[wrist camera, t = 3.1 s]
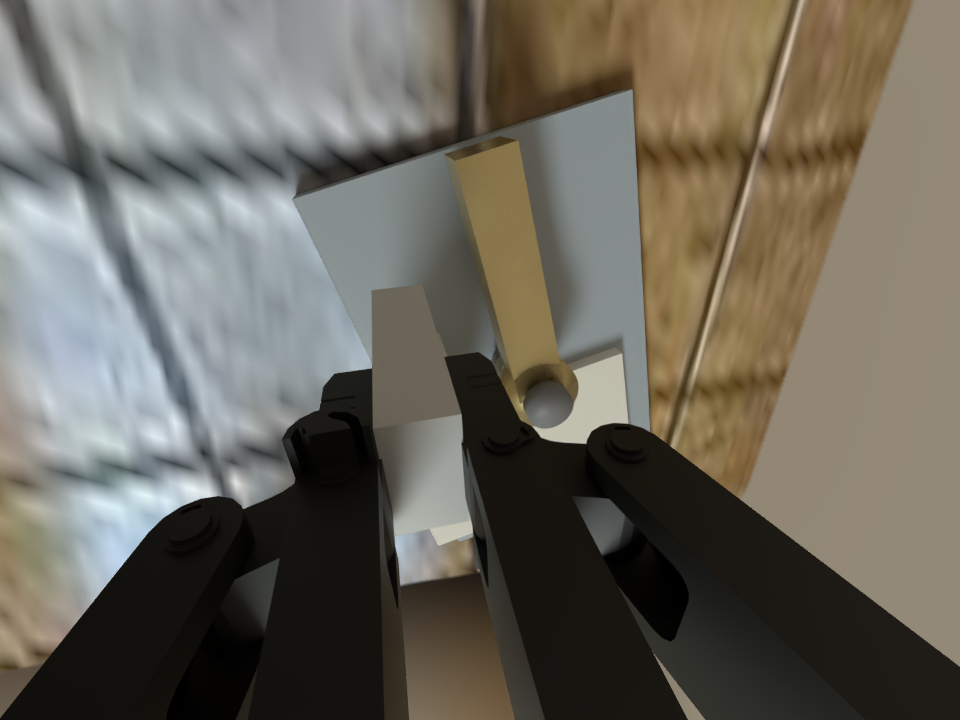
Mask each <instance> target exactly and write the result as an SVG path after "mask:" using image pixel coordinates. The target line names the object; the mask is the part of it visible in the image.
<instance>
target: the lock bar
mask: <svg viewBox="0 0 960 720" xmlns="http://www.w3.org/2000/svg"><path fill="white" fill-rule="evenodd" d="M444 157H445V160H446V164H447V168H448V171H449V175H450V178H451V182H452V185H453V189H454V192H455V196H456V200H457V203H458V207H459V210H460V214H461V217H462V221H463V225H464V228H465V232H466V235H467V239H468V242H469V246H470V250H471V253H472V257H473V260H474V264H475V267H476V271H477V274H478V278H479V282H480V285H481V289H482V292H483V296H484V299H485V303H486V307H487V310H488V314H489V317H490V321H491V324H492V328H493V332H494V335H495V339H496V342H497V346H498V349H499V353H500V356H499V358H498V359H497V361H496V363H495V366H494V367H495V369H496V371H497V375H499V377H500V379H501V382H502V385H503V386H504V388H505V390H506V392H507V394H508V396H509V398H510V400H511V402H512V404H513V406H514V408H515V410H516V412H517V414H518V416H519V418H520V420H521V421H523V422H525V423H527V424H529V425H531V426H534V425H533V424H532V423H531V422H530V420H529V419H528V417H527V415H526V413H525V411H524V408H523V400H524V397H525V395H526V394H527V392H528V391H529V390H530V389H531V388H532V387H533V386H535V385H536V384H538V383H541V382H544V381H557V382H559V383H561V384H562V385H563V386H564V387H565V388H566V390H567V391H568V392H569V394H570V395H571V397H572V399H573V403H574V402H575V400H576V398H577V395H578V388H579V386H578V380H577V377H576V375H575V374H574V372H573V371H572V370H571V369H570V367H569V366H568V365H567V363H566V362H565V361H564V360H563V358H562V357H561V356H560V354H559V353H558V348H557V343H556V338H555V333H554V327H553V322H552V317H551V311H550V306H549V301H548V295H547V290H546V285H545V280H544V274H543V269H542V264H541V258H540V253H539V248H538V243H537V237H536V232H535V227H534V221H533V216H532V211H531V205H530V200H529V195H528V190H527V184H526V179H525V174H524V168H523V163H522V158H521V152H520V147H519V142H518V140H515V139H510V138H506V137H502V136H499V137H495V138H492V139H489V140H486V141H483V142H480V143H477V144H474V145H471V146H468V147H465V148H462V149H458V150H455V151H452V152H449V153H446V154H444Z"/></svg>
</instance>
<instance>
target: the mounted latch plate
mask: <svg viewBox="0 0 960 720" xmlns="http://www.w3.org/2000/svg"><path fill="white" fill-rule="evenodd" d="M499 136H502V137H506V138H510V139H515V140H518V142H519V147H520V152H521V158H522V163H523V168H524V174H525V179H526V184H527V190H528V195H529V200H530V205H531V211H532V216H533V221H534V227H535V232H536V237H537V243H538V248H539V253H540V258H541V264H542V269H543V274H544V280H545V285H546V290H547V295H548V301H549V306H550V311H551V317H552V322H553V327H554V333H555V338H556V343H557V348H558V353H559V354H560V356H561V357H562V358H563V360H564V361H565V362H566V363H567V365H568V366H569V367H570V369H571V370H572V371H573V372H574V374H575V375H576V377H577V380H578V386H579V388H578V395H577V398H576V400H575V402H574V403H573V399H572V397H571V395H570V394H569V392H568V391H567V390H566V388H565V387H564V386H563V385H562V384H561V383H559V382H557V381H544V382H541V383H538V384H536V385H535V386H533V387H532V388H531V389H530V390H529V391H528V392H527V394H526V395H525V397H524V400H523V408H524V411H525V413H526V415H527V417H528V419H529V420H530V422H531V423H532V424H533V425H534V426H532V427H533V428H534V429H535V430H536V431H537V432H538V434H539V435H540V437H541V438H544V439H547V440H550V441H556V442H564V443H581V444H586V443H587V439H588V437H589V435H590V433H591V431H593V430H595V429H596V428H598V427H599V426H601V425H606V424H611V423H625V424H631V425H634V426H638V427H641V428H644V429H646V430H647V431H649V432H650V418H649V398H648V379H647V360H646V341H645V322H644V302H643V283H642V264H641V245H640V225H639V206H638V187H637V168H636V148H635V129H634V110H633V91H632V89H628V90H619V91H616V92H613V93H610V94H607V95H604V96H601V97H598V98H595V99H592V100H589V101H585V102H582V103H579V104H576V105H573V106H570V107H567V108H564V109H561V110H558V111H555V112H551V113H548V114H545V115H542V116H539V117H536V118H533V119H530V120H527V121H524V122H520V123H517V124H514V125H511V126H508V127H505V128H502V129H499V130H496V131H493V132H490V133H486V134H483V135H480V136H477V137H474V138H471V139H468V140H465V141H462V142H459V143H456V144H452V145H449V146H446V147H443V148H440V149H437V150H434V151H431V152H428V153H425V154H421V155H418V156H415V157H412V158H409V159H406V160H403V161H400V162H397V163H394V164H391V165H387V166H384V167H381V168H378V169H375V170H372V171H369V172H366V173H363V174H360V175H357V176H353V177H350V178H347V179H344V180H341V181H338V182H335V183H332V184H329V185H326V186H323V187H319V188H316V189H313V190H310V191H307V192H304V193H301V194H298V195H295V196H294V198H293V199H292V200H293V202H294V204H295V206H296V208H297V210H298V212H299V214H300V216H301V218H302V220H303V222H304V224H305V226H306V228H307V231H308V233H309V235H310V237H311V239H312V241H313V243H314V245H315V247H316V249H317V251H318V253H319V255H320V257H321V259H322V261H323V263H324V265H325V268H326V270H327V272H328V274H329V276H330V278H331V280H332V282H333V284H334V286H335V288H336V290H337V292H338V294H339V296H340V298H341V300H342V302H343V304H344V307H345V309H346V311H347V313H348V315H349V317H350V319H351V321H352V323H353V325H354V327H355V329H356V331H357V333H358V335H359V337H360V339H361V341H362V344H363V346H364V348H365V350H366V352H367V354H368V356H369V358H370V360H371V362H372V290H377V289H386V288H395V287H404V286H414V285H422V286H423V289H424V292H425V296H426V299H427V302H428V305H429V309H430V312H431V315H432V319H433V322H434V325H435V328H436V332H437V335H438V338H439V342H440V345H441V348H442V352H443V355H444V357H447V356H454V355H461V354H468V353H475V352H479V353H481V354H482V355H484V356H485V357H486V358H488V359H489V360H491V361H492V363H493V365H494V366H495V363H496V361H497V359H498V358H499V356H500V353H499V349H498V346H497V342H496V339H495V335H494V332H493V328H492V324H491V321H490V317H489V314H488V310H487V307H486V303H485V299H484V296H483V292H482V289H481V285H480V282H479V278H478V274H477V271H476V267H475V264H474V260H473V257H472V253H471V250H470V246H469V242H468V239H467V235H466V232H465V228H464V225H463V221H462V217H461V214H460V210H459V207H458V203H457V200H456V196H455V192H454V189H453V185H452V182H451V178H450V175H449V171H448V168H447V164H446V160H445V157H444V154H446V153H449V152H452V151H455V150H458V149H462V148H465V147H468V146H471V145H474V144H477V143H480V142H483V141H486V140H489V139H492V138H495V137H499ZM430 531H431V533H432V534H433V536H434V538H435V540H436V542H437V544H438V546H439V545H442V544H445V543H447V542H450V541H453V540H455V539H458V541H459V542H460V541H463V540H466V539H468V538H471V537H473V528H472V523H471V519H470V515H469V521H466V522H461V523H456V524H452V525H447V526H442V527H437V528H432V529H430Z"/></svg>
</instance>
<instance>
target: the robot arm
mask: <svg viewBox="0 0 960 720" xmlns="http://www.w3.org/2000/svg"><path fill="white" fill-rule="evenodd" d="M282 441H283V444H284V447H285V450H286V453H287V456H288V458H289V461H290V464H291V467H292V470H293V473H294V476H295V483H294V484H293V485H292V486H291V487H289V488H288V489H286V490H285V491H283V492H281V493H279V494H277V495H275V496H273V497H271V498H269V499H267V500H264V501H262V502H260V503H257V504H255V505H252V506H250V507H248V508H245V509H242V506H241V505H240V504H238V503H237V502H236V501H235V500H233V499H232V498H226V497H220V496H217V497H210V498H203V499H199V500H197V501H194V502H192V503H189V504H187V505H184V506H182V507H180V508H178V509H177V510H175V511H174V512H172V513H171V514H169V515H167V516H166V517H164V518H163V519H162V520H161V521H160V522H159V523H158V524H157V525H156V526H155V527H154V528H153V529H152V530H151V531H150V532H149V533H148V534H147V535H146V537H145V538H144V539H143V540H142V542H141V543H140V544H139V545H138V547H137V548H136V549H135V550H134V552H133V553H132V554H131V555H130V557H129V558H128V559H127V560H126V562H125V563H124V564H123V565H122V567H121V568H120V569H119V570H118V572H117V573H116V574H115V575H114V577H113V578H112V579H111V580H110V582H109V583H108V584H107V585H106V587H105V588H104V589H103V590H102V592H101V593H100V594H99V595H98V597H97V598H96V599H95V600H94V602H93V603H92V604H91V605H90V607H89V608H88V609H87V610H86V612H85V613H84V614H83V615H82V617H81V618H80V619H79V620H78V622H77V623H76V624H75V625H74V627H73V628H72V629H71V630H70V632H69V633H68V634H67V635H66V637H65V638H64V639H63V640H62V642H61V643H60V644H59V645H58V647H57V648H56V649H55V650H54V652H53V653H52V654H51V655H50V657H49V658H48V659H47V660H46V662H45V663H44V664H43V665H42V667H41V668H40V669H39V671H38V672H37V673H36V674H35V675H34V677H33V678H32V679H31V680H30V682H29V683H28V684H27V685H26V687H25V688H24V689H23V690H22V692H21V693H20V694H19V695H18V697H17V698H16V699H15V700H14V702H13V703H12V704H11V705H10V707H9V708H8V709H7V710H6V712H5V713H4V714H3V715H2V717H1V718H0V720H409V714H408V713H409V712H408V697H407V683H406V668H405V654H404V653H405V652H404V638H403V623H402V608H401V593H400V578H399V563H398V557H397V552H396V548H395V540H394V533H395V536H399V535H404V534H408V533H413V532H418V531H423V530H428V529H432V528H437V527H442V526H447V525H452V524H456V523H461V522H466V521H469V515H470V519H471V523H472V528H473V542H474V557H475V569H480V574H481V578H482V582H483V586H484V590H485V595H486V599H487V603H488V607H489V612H490V616H491V620H492V624H493V628H494V632H495V637H496V641H497V645H498V649H499V654H500V658H501V662H502V667H503V671H504V675H505V679H506V683H507V687H508V692H509V696H510V700H511V704H512V709H513V713H514V717H515V720H688V719H687V717H686V716H685V714H684V712H683V710H682V708H681V706H680V704H679V702H678V700H677V698H676V696H675V694H674V692H673V690H672V689H671V687H670V685H669V683H668V681H667V679H666V677H665V675H664V673H663V671H662V669H661V667H660V665H659V664H658V662H657V660H656V658H655V656H654V654H655V655H656V656H657V658H658V659H659V660H660V662H661V663H662V664H663V666H664V667H665V668H666V669H667V671H668V672H669V673H670V674H671V676H672V677H673V678H674V680H675V681H676V682H677V684H678V685H679V686H680V687H681V689H682V690H683V691H684V693H685V694H686V695H687V696H688V698H689V699H690V700H691V701H692V703H693V704H694V705H695V707H696V708H697V709H698V710H699V712H700V713H701V714H702V716H703V717H704V718H705V719H706V720H960V667H959V666H958V665H957V664H955V663H954V662H953V661H951V660H950V659H949V658H948V657H946V656H945V655H943V654H942V653H941V652H940V651H938V650H937V649H935V648H934V647H933V646H932V645H930V644H929V643H928V642H927V641H925V640H924V639H923V638H921V637H920V636H918V635H917V634H916V633H915V632H913V631H912V630H910V629H909V628H908V627H907V626H905V625H904V624H903V623H902V622H900V621H899V620H898V619H896V618H895V617H894V616H892V615H891V614H889V613H888V612H887V611H886V610H884V609H883V608H882V607H881V606H879V605H878V604H876V603H875V602H874V601H873V600H871V599H870V598H869V597H867V596H866V595H865V594H863V593H862V592H861V591H859V590H858V589H857V588H856V587H854V586H853V585H852V584H850V583H849V582H848V581H846V580H845V579H844V578H842V577H841V576H840V575H839V574H837V573H836V572H835V571H833V570H832V569H831V568H829V567H828V566H827V565H825V564H824V563H823V562H821V561H820V560H819V559H817V558H816V557H815V556H813V555H812V554H811V553H810V552H808V551H807V550H806V549H804V548H803V547H802V546H800V545H799V544H798V543H796V542H795V541H794V540H793V539H791V538H790V537H789V536H787V535H786V534H785V533H783V532H782V531H780V530H779V529H778V528H777V527H775V526H774V525H773V524H772V523H770V522H769V521H767V520H766V519H765V518H764V517H762V516H761V515H760V514H758V513H757V512H756V511H754V510H753V509H752V508H750V507H749V506H748V505H747V504H745V503H744V502H743V501H741V500H740V499H739V498H737V497H736V496H735V495H733V494H732V493H731V492H729V491H728V490H727V489H726V488H724V487H723V486H722V485H720V484H719V483H718V482H716V481H715V480H714V479H712V478H711V477H710V476H708V475H707V474H706V473H705V472H703V471H702V470H701V469H699V468H698V467H697V466H695V465H694V464H693V463H691V462H690V461H689V460H687V459H686V458H685V457H684V456H682V455H681V454H680V453H678V452H677V451H676V450H674V449H673V448H672V447H670V446H669V445H668V444H666V443H665V442H664V441H663V440H661V439H660V438H659V437H657V436H656V435H654V434H653V433H651V432H649V431H647V430H646V429H644V428H641V427H638V426H634V425H631V424H625V423H611V424H606V425H601V426H599V427H598V428H596V429H595V430H593V431H591V433H590V435H589V437H588V439H587V443H586V444H581V443H564V442H556V441H550V440H547V439H544V438H541V437H540V435H539V434H538V432H537V431H536V430H535V429H534V428H533V427H532V426H531V425H529V424H527V423H525V422H523V421H521V420H520V418H519V416H518V414H517V412H516V410H515V408H514V406H513V404H512V402H511V400H510V398H509V396H508V394H507V392H506V390H505V388H504V386H503V385H502V382H501V379H500V377H499V375H497V371H496V369H495V367H494V365H493V363H492V361H491V360H489V359H488V358H486V357H485V356H484V355H482V354H481V353H479V352H475V353H468V354H461V355H454V356H447V357H444V355H443V352H442V348H441V345H440V342H439V338H438V335H437V332H436V328H435V325H434V322H433V319H432V315H431V312H430V309H429V305H428V302H427V299H426V296H425V292H424V289H423V286H422V285H414V286H404V287H395V288H386V289H377V290H372V369H365V370H358V371H351V372H344V373H337V374H334V375H333V376H332V377H331V378H330V380H329V381H328V382H327V383H326V384H325V386H324V387H323V392H322V398H321V404H320V410H319V411H315V412H313V413H311V414H309V415H306V416H305V417H302V418H301V419H299V420H298V421H296V422H295V423H294V424H293V425H292V426H291V427H289V428H288V430H287V431H286V433H285V435H284V437H283V438H282ZM652 651H653V652H652ZM653 653H654V654H653Z"/></svg>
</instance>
